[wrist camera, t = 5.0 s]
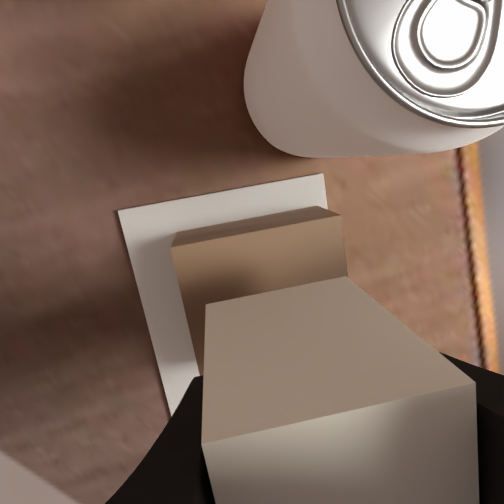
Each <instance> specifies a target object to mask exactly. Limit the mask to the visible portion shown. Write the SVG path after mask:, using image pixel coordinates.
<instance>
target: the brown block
mask: <svg viewBox="0 0 504 504" xmlns="http://www.w3.org/2000/svg"><path fill="white" fill-rule="evenodd" d="M170 250H171V254H172V258H173V263H174V267H175V271H176V276H177V280H178V284H179V289H180V293H181V297H182V301H183V306H184V310H185V314H186V319H187V323H188V327H189V332H190V336H191V340H192V344H193V349H194V353H195V357H196V362H197V366H198V370H199V375H200V376H202V375H204V345H205V313H206V304H210V303H215V302H220V301H225V300H230V299H235V298H240V297H245V296H250V295H255V294H260V293H265V292H270V291H275V290H280V289H285V288H289V287H294V286H299V285H304V284H309V283H314V282H319V281H324V280H329V279H334V278H339V277H344V276H347V277H348V273H347V264H346V255H345V247H344V238H343V229H342V220H341V215H339V214H337V213H335V212H332V211H330V210H327V209H325V208H322V207H320V206H312V207H307V208H301V209H296V210H291V211H285V212H280V213H275V214H269V215H264V216H259V217H253V218H248V219H243V220H237V221H232V222H227V223H222V224H216V225H211V226H206V227H200V228H195V229H190V230H184V231H179V232H177V234H176V236H175V238H174V240H173V242H172V244H171V247H170Z"/></svg>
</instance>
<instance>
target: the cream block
mask: <svg viewBox="0 0 504 504" xmlns="http://www.w3.org/2000/svg"><path fill="white" fill-rule="evenodd" d="M201 445H202V449H203V453H204V457H205V462H206V466H207V470H208V474H209V478H210V482H211V486H212V490H213V494H214V499H215V503H216V504H479V476H478V443H477V409H476V382H475V381H473V380H472V379H471V378H470V377H468V376H467V375H466V374H465V373H464V372H462V371H461V370H460V369H459V368H457V367H456V366H455V365H454V364H453V363H451V362H450V361H449V360H448V359H447V358H445V357H444V356H443V355H442V354H440V353H439V352H438V351H437V350H436V349H434V348H433V347H432V346H431V345H429V344H428V343H427V342H426V341H425V340H423V339H422V338H421V337H420V336H419V335H417V334H416V333H415V332H414V331H412V330H411V329H410V328H409V327H408V326H406V325H405V324H404V323H403V322H402V321H400V320H399V319H398V318H397V317H395V316H394V315H393V314H392V313H391V312H389V311H388V310H387V309H386V308H384V307H383V306H382V305H381V304H380V303H378V302H377V301H376V300H375V299H374V298H372V297H371V296H370V295H369V294H367V293H366V292H365V291H364V290H363V289H361V288H360V287H359V286H358V285H356V284H355V283H354V282H353V281H352V280H350V279H349V278H348V277H347V276H344V277H339V278H334V279H329V280H324V281H319V282H314V283H309V284H304V285H299V286H294V287H289V288H285V289H280V290H275V291H270V292H265V293H260V294H255V295H250V296H245V297H240V298H235V299H230V300H225V301H220V302H215V303H210V304H206V313H205V345H204V376H203V408H202V439H201Z"/></svg>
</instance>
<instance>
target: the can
mask: <svg viewBox="0 0 504 504" xmlns="http://www.w3.org/2000/svg"><path fill="white" fill-rule="evenodd" d="M244 96H245V101H246V105H247V109H248V112H249V114H250V117H251V119H252V121H253V123H254V125H255V126H256V128H257V129H258V131H259V132H260V133H261V134H262V136H263V137H264V138H265V139H266V140H267V141H268V142H269V143H270V144H271V145H273V146H274V147H276V148H277V149H279V150H281V151H284V152H286V153H289V154H292V155H296V156H301V157H309V158H335V157H366V156H390V155H410V154H423V153H434V152H441V151H446V150H450V149H454V148H458V147H462V146H465V145H468V144H471V143H474V142H476V141H479V140H481V139H483V138H485V137H487V136H489V135H491V134H493V133H494V132H496V131H498V130H499V129H501V128H503V127H504V0H268V1H267V4H266V6H265V9H264V12H263V15H262V17H261V20H260V23H259V26H258V29H257V32H256V34H255V37H254V40H253V43H252V46H251V49H250V52H249V55H248V58H247V62H246V66H245V72H244Z"/></svg>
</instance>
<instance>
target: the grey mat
mask: <svg viewBox="0 0 504 504" xmlns="http://www.w3.org/2000/svg"><path fill="white" fill-rule="evenodd" d="M312 206H320V207H322V208H325V209H327V210H328V208H327V200H326V192H325V184H324V176H323V173H319V174H313V175H308V176H302V177H297V178H291V179H286V180H280V181H275V182H270V183H264V184H259V185H253V186H248V187H242V188H237V189H231V190H226V191H220V192H215V193H209V194H204V195H198V196H193V197H187V198H182V199H176V200H171V201H165V202H160V203H154V204H149V205H143V206H138V207H132V208H127V209H122V210H118V214H119V218H120V222H121V225H122V229H123V233H124V237H125V241H126V245H127V248H128V252H129V256H130V260H131V264H132V267H133V271H134V275H135V279H136V283H137V287H138V290H139V294H140V298H141V302H142V306H143V309H144V313H145V317H146V321H147V325H148V329H149V332H150V336H151V340H152V344H153V348H154V351H155V355H156V359H157V363H158V367H159V371H160V374H161V378H162V382H163V386H164V390H165V393H166V397H167V401H168V405H169V409H170V413H171V416H172V415H173V413H174V412H175V410H176V408H177V406H178V405H179V403H180V401H181V399H182V398H183V396H184V394H185V392H186V390H187V388H188V386H189V384H190V382H191V381H192V379H193V378H194V377H197V376H200V375H199V370H198V366H197V362H196V357H195V353H194V349H193V344H192V340H191V336H190V332H189V327H188V323H187V319H186V314H185V310H184V306H183V301H182V297H181V293H180V289H179V284H178V280H177V276H176V271H175V267H174V263H173V258H172V254H171V250H170V247H171V244H172V242H173V240H174V238H175V236H176V234H177V232H179V231H184V230H190V229H195V228H200V227H206V226H211V225H216V224H222V223H227V222H232V221H237V220H243V219H248V218H253V217H259V216H264V215H269V214H275V213H280V212H285V211H291V210H296V209H301V208H307V207H312Z"/></svg>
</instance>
